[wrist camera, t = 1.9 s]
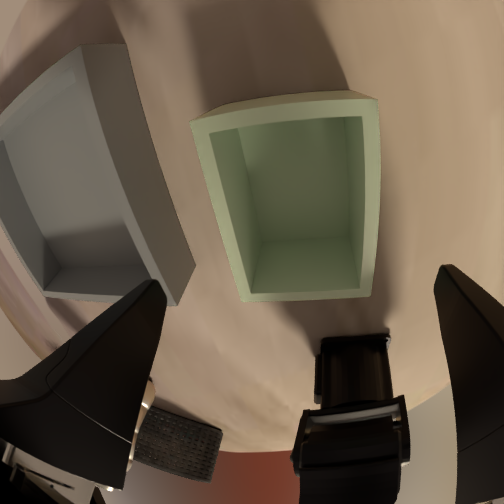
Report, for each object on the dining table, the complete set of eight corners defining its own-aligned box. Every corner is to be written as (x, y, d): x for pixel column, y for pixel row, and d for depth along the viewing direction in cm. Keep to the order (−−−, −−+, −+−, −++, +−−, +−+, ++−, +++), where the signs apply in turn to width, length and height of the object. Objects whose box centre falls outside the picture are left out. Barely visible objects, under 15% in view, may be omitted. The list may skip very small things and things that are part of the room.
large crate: (126, 43, 11) (80, 44, 7) (195, 265, 20) (177, 306, 17) (2, 132, 14) (-29, 150, 11) (64, 270, 24) (44, 296, 20)
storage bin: (109, 402, 57) (94, 442, 47) (99, 380, 45) (77, 432, 35) (208, 439, 60) (198, 481, 49) (227, 428, 48) (215, 484, 38)
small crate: (350, 90, 11) (377, 99, 7) (356, 238, 16) (370, 296, 12) (224, 104, 13) (189, 121, 9) (255, 244, 18) (241, 302, 14)
